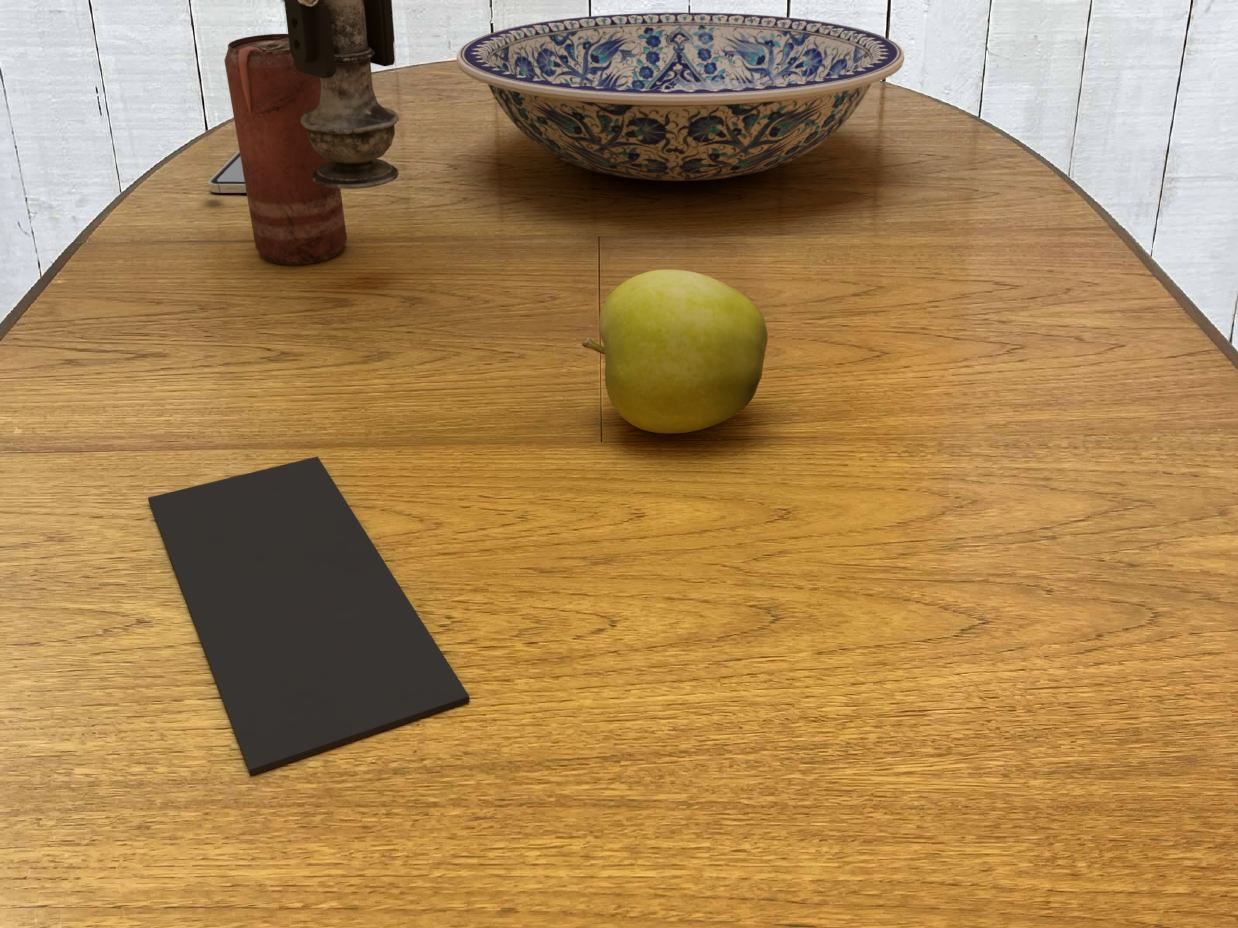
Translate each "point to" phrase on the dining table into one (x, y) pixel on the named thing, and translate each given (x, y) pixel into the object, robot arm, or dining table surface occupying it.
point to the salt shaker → (350, 109)
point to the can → (281, 154)
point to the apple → (680, 350)
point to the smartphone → (229, 177)
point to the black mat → (299, 614)
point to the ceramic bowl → (679, 88)
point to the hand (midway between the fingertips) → (345, 64)
